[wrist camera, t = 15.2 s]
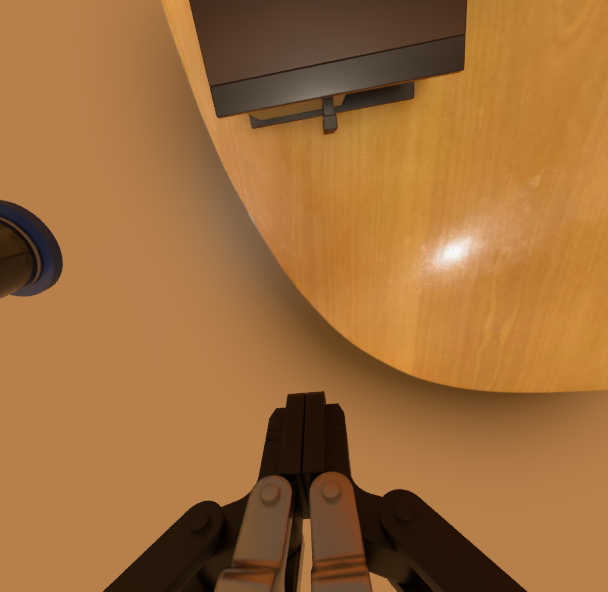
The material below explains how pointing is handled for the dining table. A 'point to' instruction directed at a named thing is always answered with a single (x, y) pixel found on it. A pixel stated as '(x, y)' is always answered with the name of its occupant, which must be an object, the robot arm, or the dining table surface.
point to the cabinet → (324, 51)
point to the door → (324, 104)
